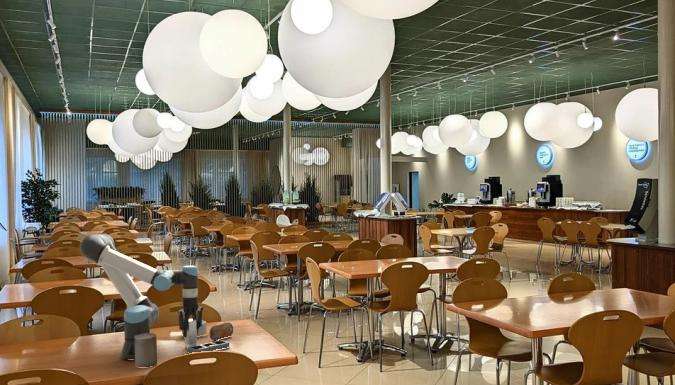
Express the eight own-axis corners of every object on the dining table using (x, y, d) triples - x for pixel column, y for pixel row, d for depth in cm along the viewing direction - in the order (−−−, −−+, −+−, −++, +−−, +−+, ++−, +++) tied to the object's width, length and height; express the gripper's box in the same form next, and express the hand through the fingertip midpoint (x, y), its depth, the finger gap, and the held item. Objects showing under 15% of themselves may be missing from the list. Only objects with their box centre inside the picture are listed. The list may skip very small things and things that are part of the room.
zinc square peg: (189, 349, 295) (189, 321, 295) (185, 347, 298) (185, 320, 297) (196, 347, 297) (196, 320, 297) (192, 346, 300) (192, 318, 300)
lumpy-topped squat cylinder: (181, 334, 325) (181, 318, 325) (205, 332, 329) (205, 317, 329) (183, 339, 315) (182, 322, 315) (207, 336, 319) (207, 321, 319)
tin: (212, 342, 307) (212, 326, 307) (208, 341, 309) (208, 325, 308) (233, 336, 319) (233, 321, 319) (229, 336, 321) (229, 320, 320)
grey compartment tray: (195, 356, 282) (195, 349, 282) (187, 353, 287) (187, 346, 287) (229, 348, 295) (229, 341, 295) (221, 345, 300) (221, 339, 300)
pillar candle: (159, 362, 273) (159, 329, 273) (153, 368, 263) (153, 335, 263) (138, 362, 273) (137, 330, 273) (132, 369, 263) (131, 335, 263)
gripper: (178, 299, 289) (179, 347, 289) (208, 295, 301) (209, 340, 301) (171, 297, 294) (171, 344, 294) (201, 293, 306) (201, 338, 306)
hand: (190, 342), depth 297 cm, fingers closed on zinc square peg, 4 cm apart
